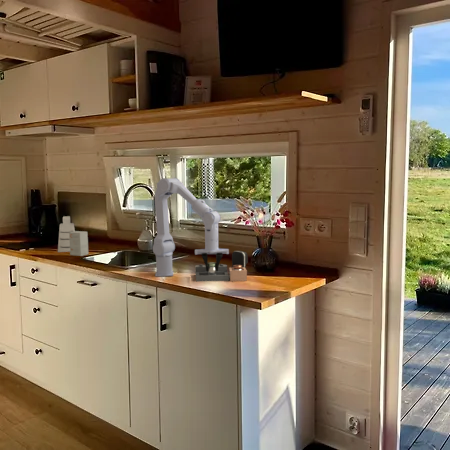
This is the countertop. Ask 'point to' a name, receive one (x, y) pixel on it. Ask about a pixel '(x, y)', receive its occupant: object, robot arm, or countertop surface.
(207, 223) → the robot arm
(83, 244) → the small box
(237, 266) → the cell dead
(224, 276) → the tester
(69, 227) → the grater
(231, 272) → the cup
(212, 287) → the countertop surface
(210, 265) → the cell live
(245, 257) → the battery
